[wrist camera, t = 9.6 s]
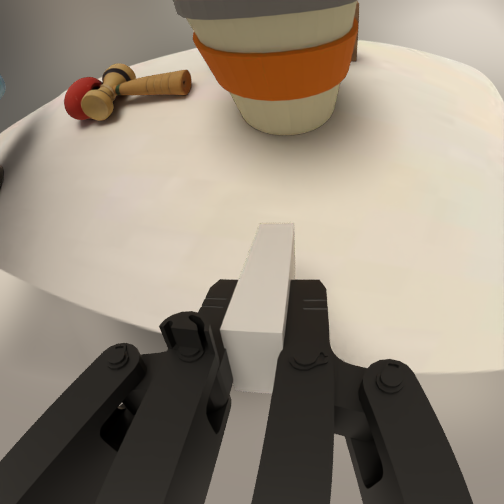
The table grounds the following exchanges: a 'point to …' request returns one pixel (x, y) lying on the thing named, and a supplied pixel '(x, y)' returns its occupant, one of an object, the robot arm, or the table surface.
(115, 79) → the kendama
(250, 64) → the reusable coffee cup
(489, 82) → the table surface
